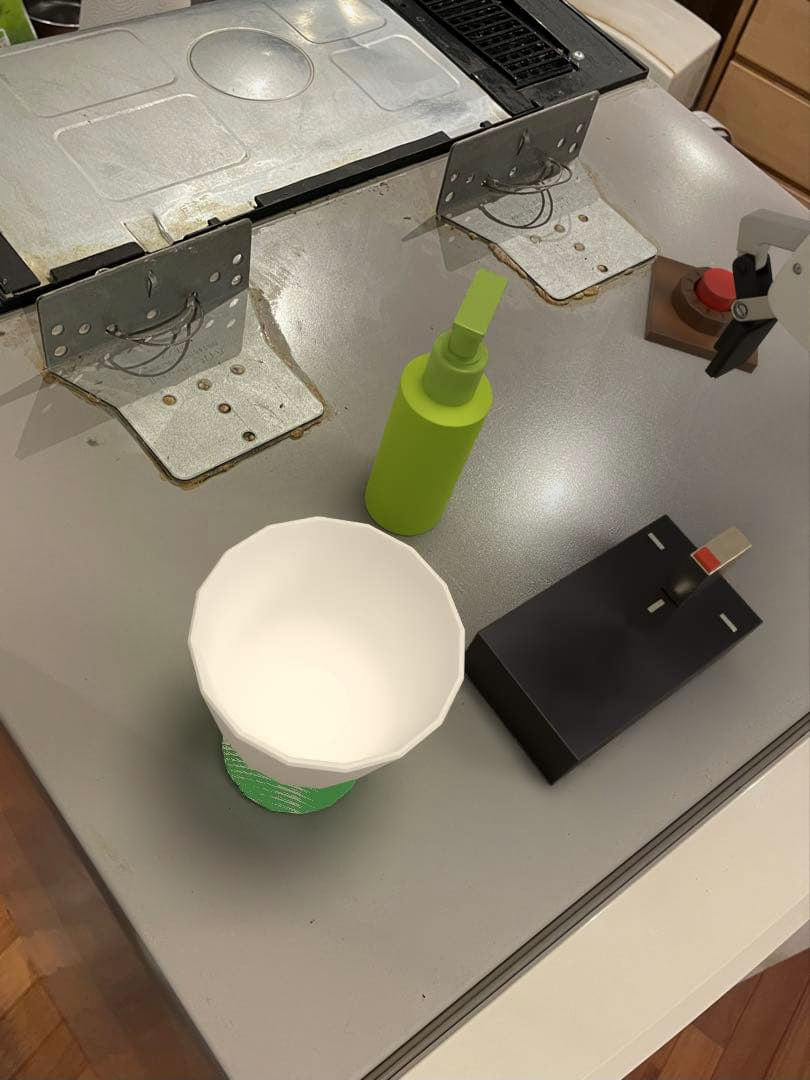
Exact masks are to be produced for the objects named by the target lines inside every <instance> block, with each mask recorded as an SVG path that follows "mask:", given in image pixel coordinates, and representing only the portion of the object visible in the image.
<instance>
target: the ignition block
mask: <svg viewBox="0 0 810 1080" xmlns="http://www.w3.org/2000/svg"><path fill="white" fill-rule="evenodd" d="M712 268H713V267H711V266H699V267H698V266H694V265H691V264H688V263H685V262H681V261H678V260H675V259H672V258H669V257H666V256H663V255H660V254H657V256H656V257H655V259H654V261H653V262H652V267H651V275H650V286H649V294H648V296H649V297H648V304H647V314H646V323H645V332H644V333H645V334H644V340H645V341H648V342H651V343H653V344H656V345H660V346H663V347H666V348H670V349H673V350H676V351H679V352H682V353H686V354H689V355H692V356H695V357H698V358H701V359H704V360H707V361H710V362H711V361H712V360H713V358H714V357H715V355H716V354H717V353H718V352H717V351H716V350H715V349H714V348H713V346H714V344H715V343H716V342H717V340H718V339H719V337H720V336H721V334H722V333H723V332H724V330H725V329H726V327H727V326H728V324H729V323H730V322H731V320H732V319H733V315H732V312H731V309H730V310H728V311H725V312H719V311H716V310H713V309H710V308H708V307H707V306H705V305H704V304H703V303H702V302H700V301H699V300H698V298H697V296H696V293H695V290H696V286H697V285H698V283H699V282H700V280H701V279H702V277H703V275H704V274H705V272H706V271H708V270H709V269H712ZM758 366H759V347H758V348H757V349H756V350H755V352H754V353H753V354H752V356H751V357H750V358H749V359H748V361H747V362H745V363H744V364H742V365H741V366H739V367H737V368H735V369H737V370H739V371H742V372H744V373H745V372H746V373H748V374H752V373H753V372H754V371H755V369H756V368H757V367H758Z"/></svg>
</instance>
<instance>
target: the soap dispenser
mask: <svg viewBox="0 0 810 1080" xmlns="http://www.w3.org/2000/svg"><path fill="white" fill-rule="evenodd" d="M509 281H510V279H509V278H508V277H504V276H502V275H500V274H497V273H495V272H493V271H490V270H489V269H486V268H483V267H480V266H479V268H478V270H477V272H476V274H475V276H474V278H473V280H472V281H471V284H470V286H469V288H468V290H467V291H466V294H465V296H464V298H463V301H462V302H461V305H460V307H459V309H458V311H457V314H456V315H455V318H454V319H453V322H452V325H451V328H450V330H447V331H443V332H441V334H439V335H438V336H437V337H436V339H435V341H434V343H433V345H432V348H431V351H430V352H428V353H424V354H421V355H419V356H417V357H414V358H413V359H412V360H410V361H409V363H407V365H406V366H405V368H403V371H402V373H401V377H400V380H399V383H398V386H397V388H396V393H395V396H394V398H393V402H392V405H391V408H390V412H389V415H388V418H387V421H386V424H385V426H384V430H383V434H382V437H381V440H380V442H379V447H378V450H377V453H376V456H375V459H374V462H373V466H372V468H371V472H370V475H369V478H368V481H367V485H366V487H365V491H364V503H365V507H366V510H367V511H368V513H369V515H370V517H371V518H372V520H373V521H374V522H375V523H377V524H378V526H380V527H382V529H384V530H386V531H387V532H391V533H392V534H395V535H400V536H407V537H408V536H409V537H411V536H418V535H422V534H425V533H427V532H429V531H431V530H432V529H433V528H434V527H435V526H436V525H437V524H438V523H439V522H440V520H441V518H442V516H443V514H444V512H445V510H446V507H447V505H448V504H449V501H450V499H451V496H452V494H453V492H454V490H455V487H456V485H457V483H458V481H459V479H460V476H461V474H462V472H463V470H464V467H465V466H466V464H467V461H468V459H469V456H470V454H471V452H472V450H473V447H474V445H475V443H476V441H477V438H478V436H479V434H480V432H481V431H482V430H481V429H482V428H483V425H484V423H485V421H486V419H487V417H488V415H489V412H490V410H491V408H492V404H493V399H494V397H493V389H492V385H491V383H490V381H489V379H488V378H487V376H486V374H485V373H484V372H485V370H486V367H487V365H488V362H489V357H490V356H489V350H488V348H487V345H486V344H485V343H484V342H483V340H484V338H485V335H486V333H487V331H488V329H489V327H490V324H491V322H492V319H493V318H494V316H495V313H496V312H497V308H498V306H499V305H500V301H501V299H502V297H503V296H504V293H505V290H506V288H507V285H508V283H509Z"/></svg>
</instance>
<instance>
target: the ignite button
mask: <svg viewBox="0 0 810 1080" xmlns="http://www.w3.org/2000/svg"><path fill="white" fill-rule="evenodd" d="M711 268H712V269H709V270H708V271H706V272H705V274H704V275H703V277H702V279H701V280H700V282H699V283H698V285H697V286H696V290H695V293H696V296H697V298H698V300H699V301H700V302H702V303H703V304H704V305H705V306H707V307H708V308H710V309H713V310H716V311H719V312H725V311H728V310H730V309H731V306H732V304H733V302H734V301H736V292H735V285H734V278H733V272H731V271H729V270H727V269H724V268H721V267H711Z"/></svg>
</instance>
